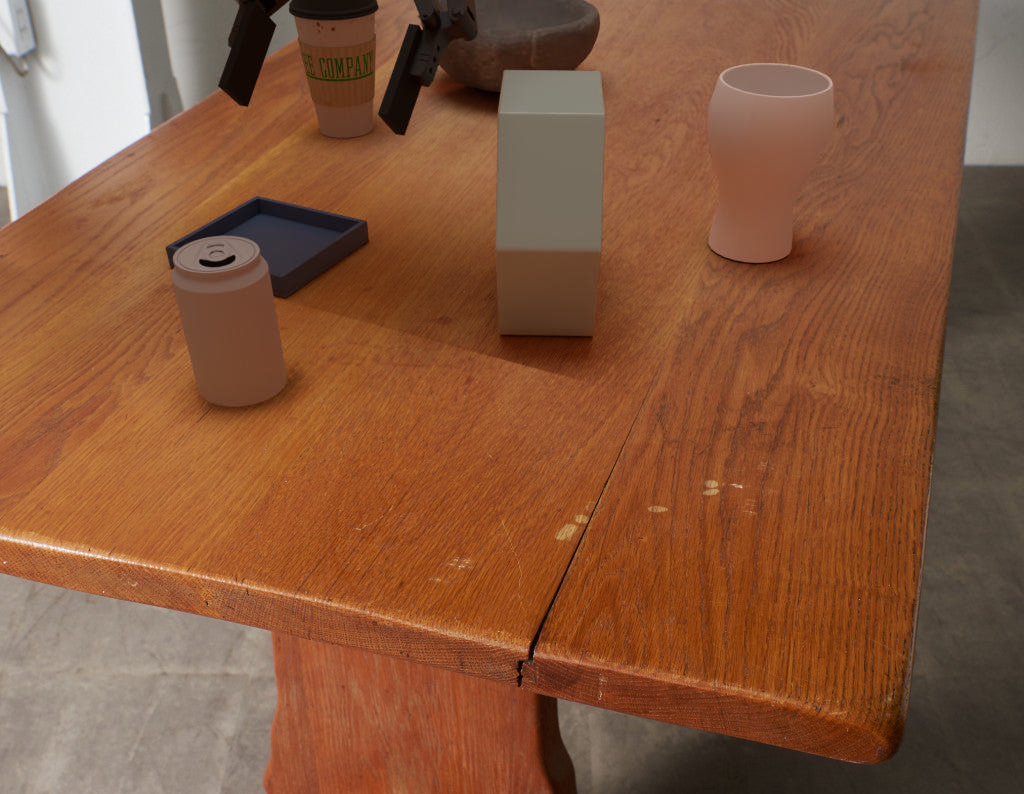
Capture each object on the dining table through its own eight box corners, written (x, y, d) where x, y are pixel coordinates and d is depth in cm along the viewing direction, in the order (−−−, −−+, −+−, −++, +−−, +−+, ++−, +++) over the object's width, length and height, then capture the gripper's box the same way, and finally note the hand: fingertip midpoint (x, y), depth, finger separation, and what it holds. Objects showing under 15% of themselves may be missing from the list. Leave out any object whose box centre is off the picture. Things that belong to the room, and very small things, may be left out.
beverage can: (205, 434, 71) (168, 279, 64) (200, 387, 76) (165, 237, 68) (295, 420, 73) (269, 266, 65) (285, 374, 78) (260, 226, 70)
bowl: (629, 100, 127) (636, 14, 121) (466, 127, 120) (463, 37, 114) (547, 52, 143) (548, -26, 137) (398, 73, 136) (392, -8, 130)
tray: (169, 267, 92) (165, 246, 90) (260, 215, 101) (256, 195, 99) (285, 298, 87) (282, 277, 86) (369, 240, 96) (367, 220, 95)
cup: (829, 246, 95) (865, 80, 85) (762, 282, 89) (792, 108, 80) (737, 212, 101) (761, 53, 91) (669, 244, 95) (686, 78, 86)
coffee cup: (291, 139, 117) (271, -3, 107) (323, 112, 124) (307, -23, 115) (371, 146, 115) (358, 3, 105) (399, 118, 122) (389, -19, 113)
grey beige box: (503, 341, 90) (506, 101, 88) (589, 342, 90) (595, 102, 88) (494, 327, 74) (497, 31, 71) (600, 328, 73) (607, 31, 71)
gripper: (581, -119, 71) (484, 164, 70) (292, -140, 79) (203, 111, 79) (550, -206, 64) (441, 109, 63) (237, -218, 72) (139, 57, 72)
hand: (309, 111), depth 71 cm, fingers open, 13 cm apart
